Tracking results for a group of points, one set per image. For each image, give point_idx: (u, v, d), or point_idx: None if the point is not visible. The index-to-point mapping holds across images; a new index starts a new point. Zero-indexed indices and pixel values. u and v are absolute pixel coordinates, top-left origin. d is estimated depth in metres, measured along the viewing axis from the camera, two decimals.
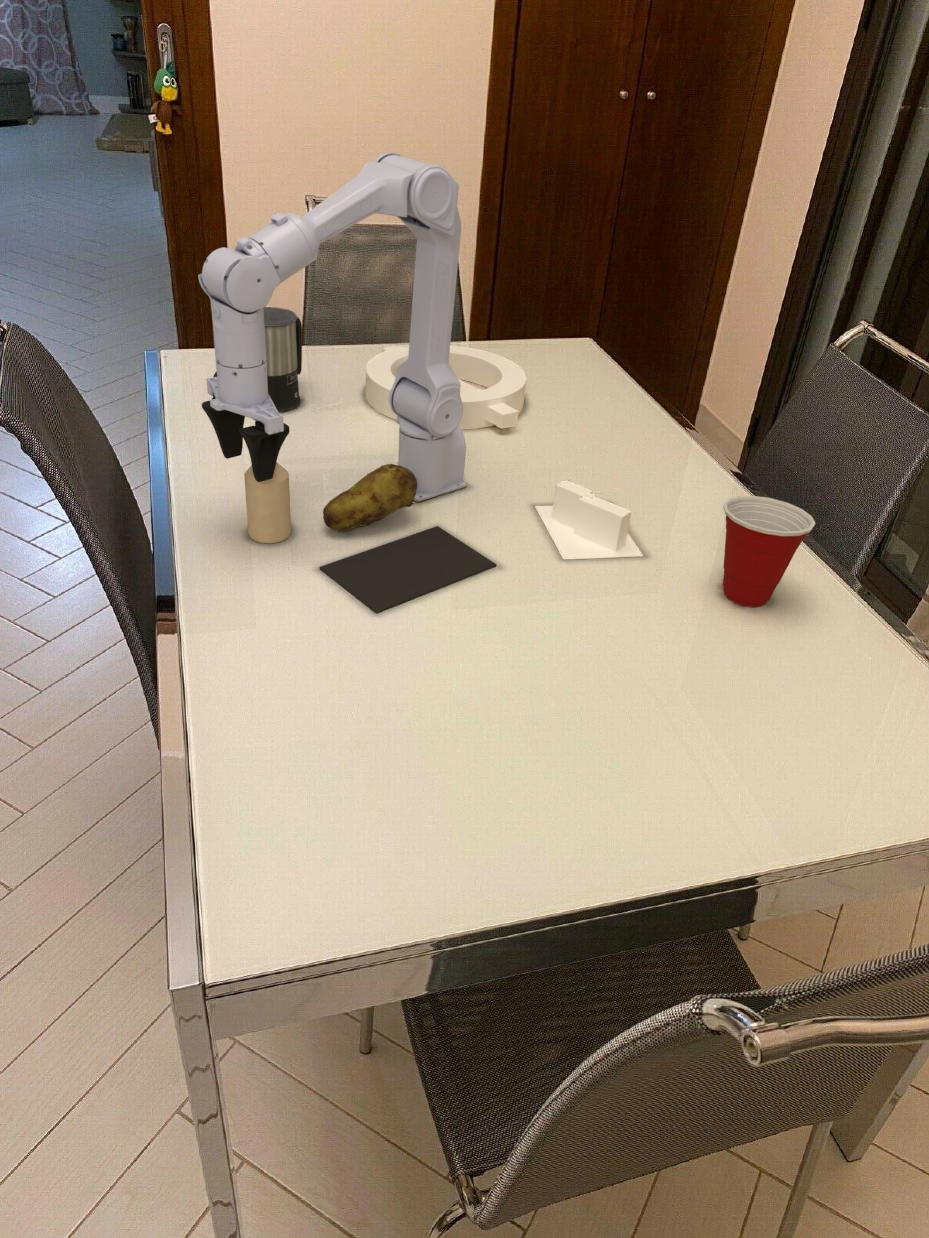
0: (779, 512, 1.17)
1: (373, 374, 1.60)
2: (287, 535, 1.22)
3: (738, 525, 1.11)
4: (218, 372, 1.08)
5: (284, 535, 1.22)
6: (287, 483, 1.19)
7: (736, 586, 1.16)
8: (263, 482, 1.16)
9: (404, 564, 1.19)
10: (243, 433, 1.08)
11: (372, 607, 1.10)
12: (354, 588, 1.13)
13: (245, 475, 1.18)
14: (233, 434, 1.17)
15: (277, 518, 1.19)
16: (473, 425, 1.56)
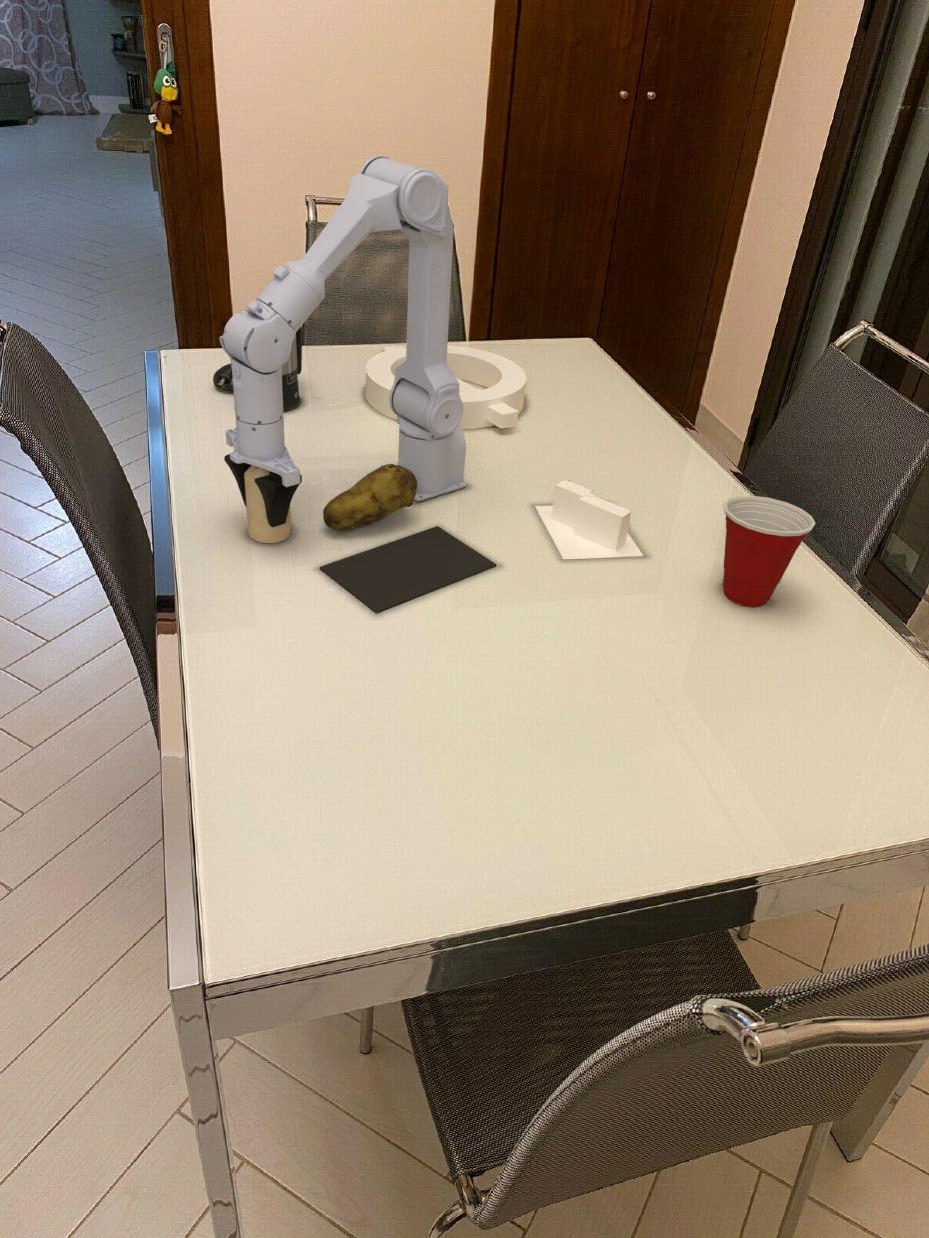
0: (779, 512, 1.17)
1: (374, 374, 1.60)
2: (287, 535, 1.22)
3: (738, 525, 1.11)
4: (238, 427, 1.13)
5: (284, 535, 1.22)
6: None
7: (736, 586, 1.16)
8: None
9: (404, 564, 1.19)
10: (258, 483, 1.14)
11: (372, 607, 1.10)
12: (354, 588, 1.13)
13: (245, 475, 1.18)
14: None
15: None
16: (473, 425, 1.56)
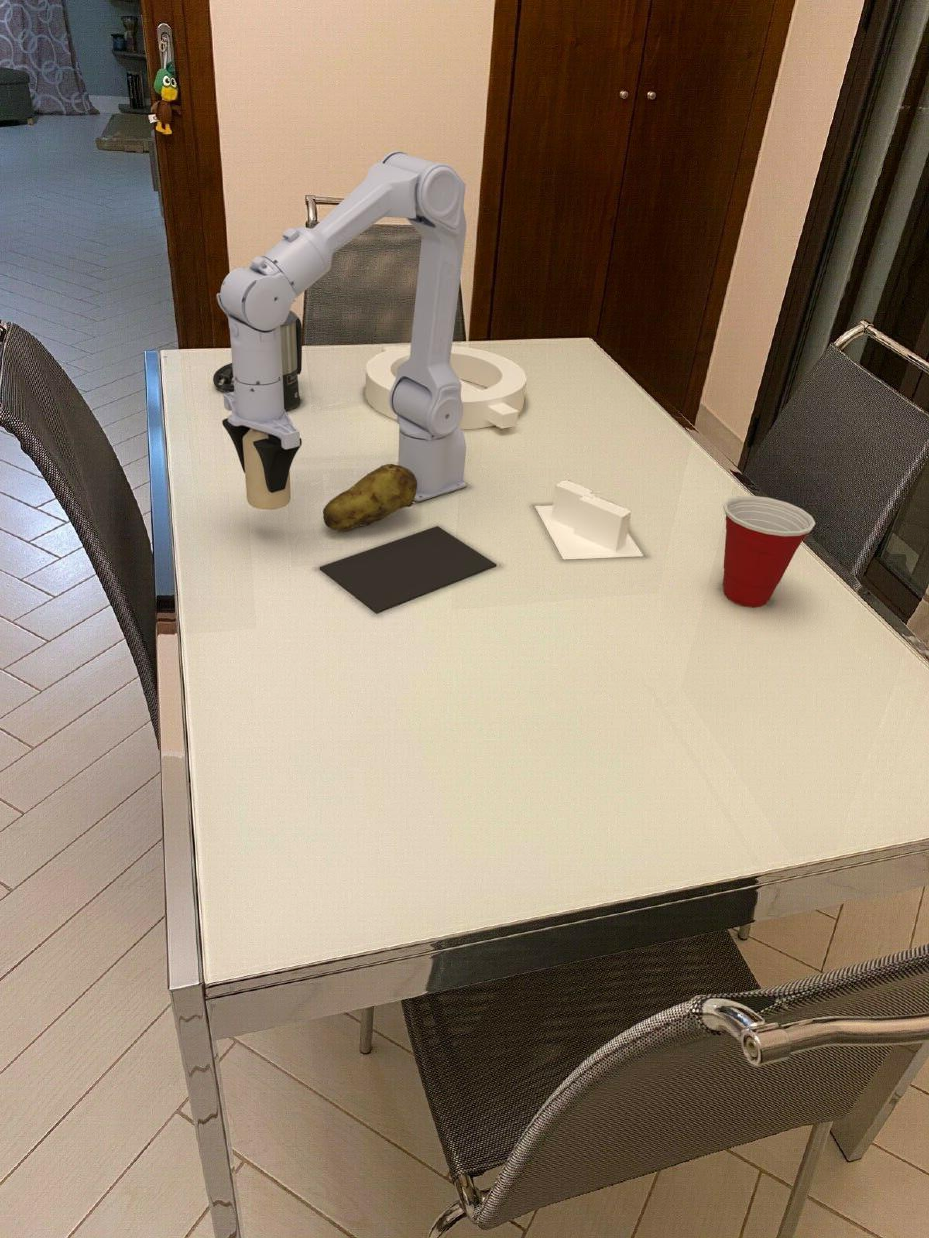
0: (779, 512, 1.17)
1: (373, 374, 1.60)
2: (287, 502, 1.19)
3: (738, 525, 1.11)
4: (236, 388, 1.10)
5: (284, 502, 1.19)
6: None
7: (736, 586, 1.16)
8: None
9: (404, 564, 1.19)
10: (257, 446, 1.11)
11: (372, 607, 1.10)
12: (354, 588, 1.13)
13: (243, 439, 1.15)
14: None
15: None
16: (473, 425, 1.56)
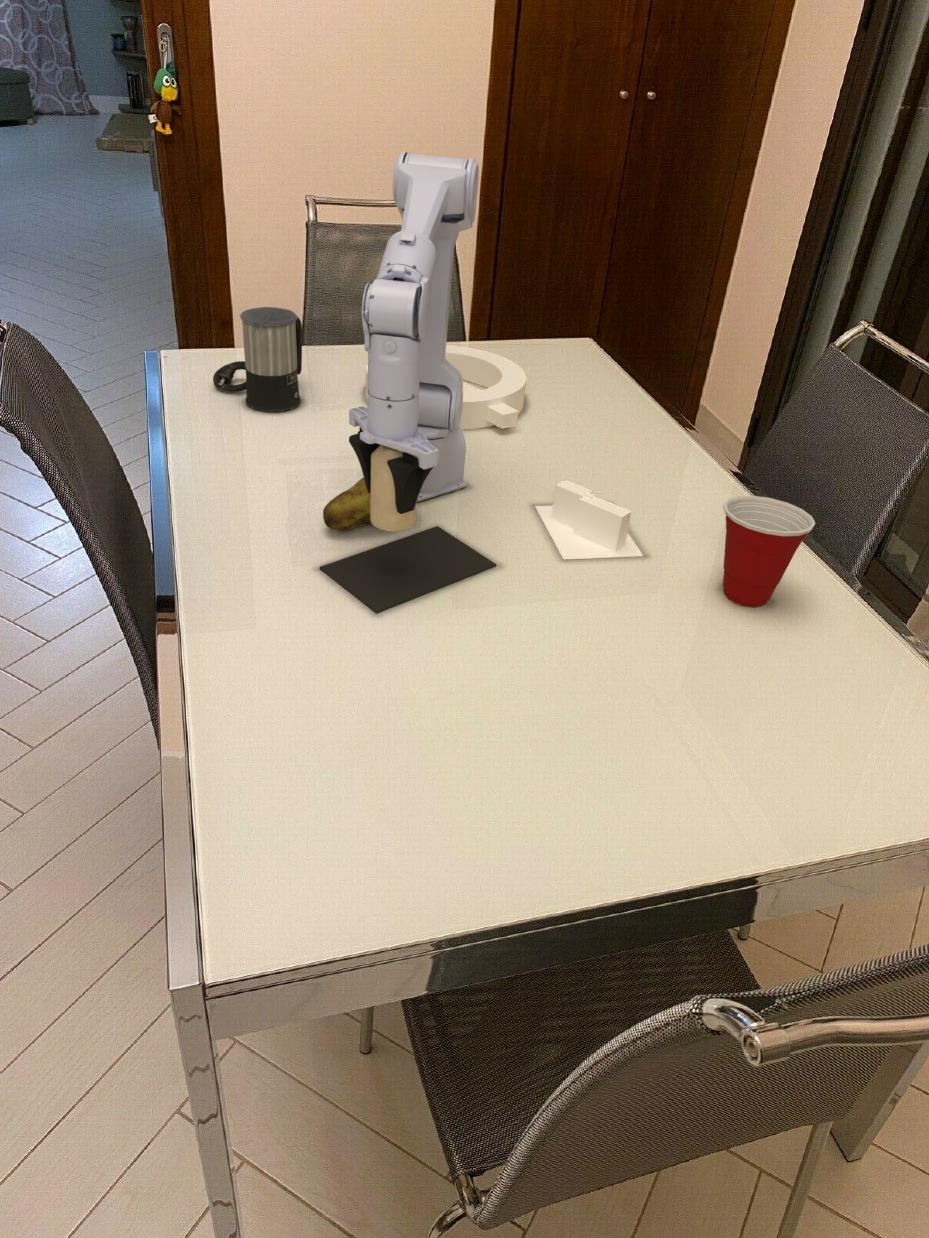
0: (779, 512, 1.17)
1: None
2: (413, 523, 1.13)
3: (738, 525, 1.11)
4: (371, 404, 1.04)
5: (410, 523, 1.12)
6: None
7: (736, 586, 1.16)
8: None
9: (404, 564, 1.19)
10: (392, 465, 1.04)
11: (372, 607, 1.10)
12: (354, 588, 1.13)
13: (372, 457, 1.08)
14: None
15: None
16: (473, 425, 1.56)
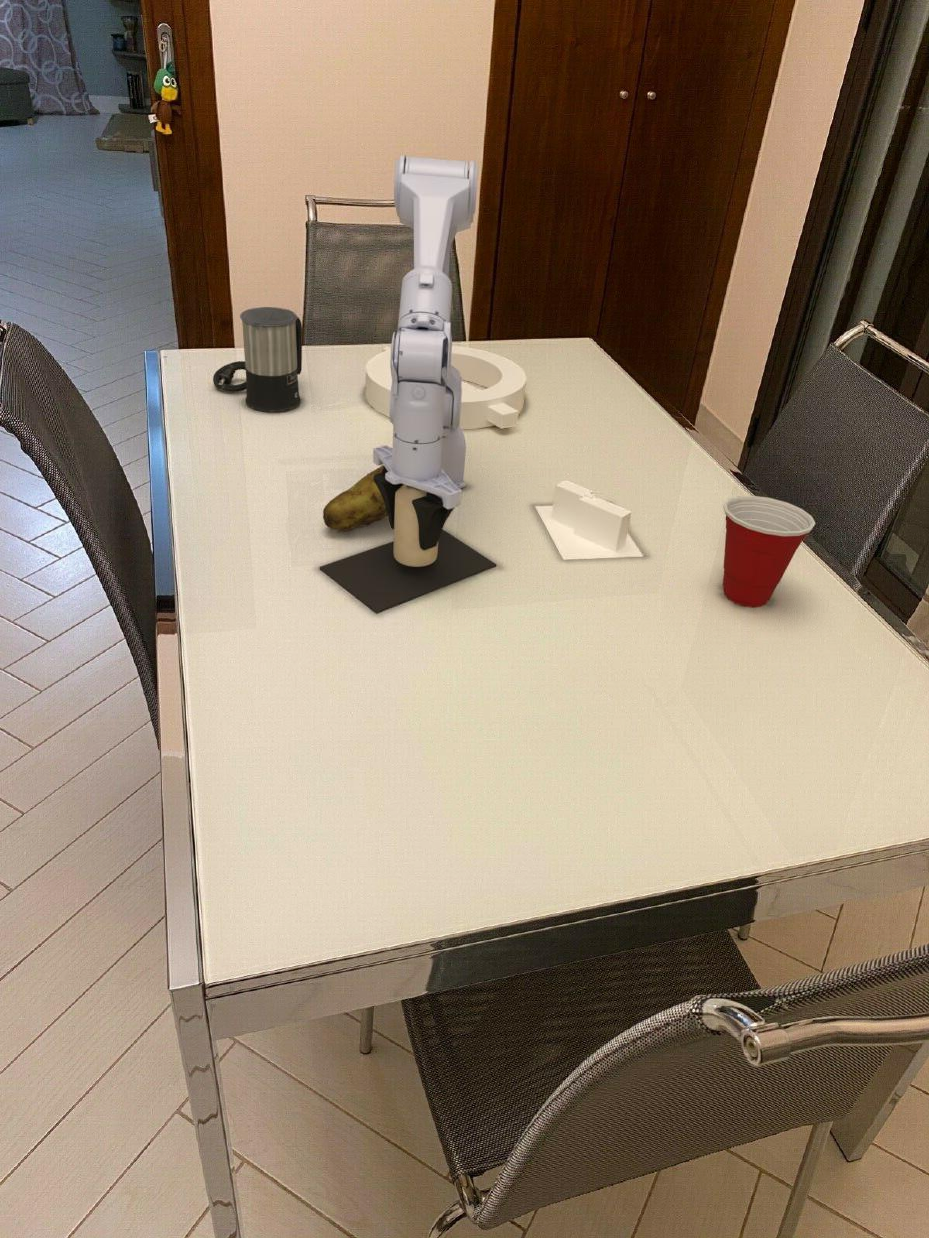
0: (779, 512, 1.17)
1: (373, 374, 1.60)
2: (435, 558, 1.17)
3: (738, 525, 1.11)
4: (396, 446, 1.07)
5: (432, 558, 1.16)
6: None
7: (736, 586, 1.16)
8: None
9: None
10: (416, 505, 1.08)
11: (372, 607, 1.10)
12: (354, 588, 1.13)
13: (397, 496, 1.12)
14: None
15: None
16: (473, 425, 1.56)
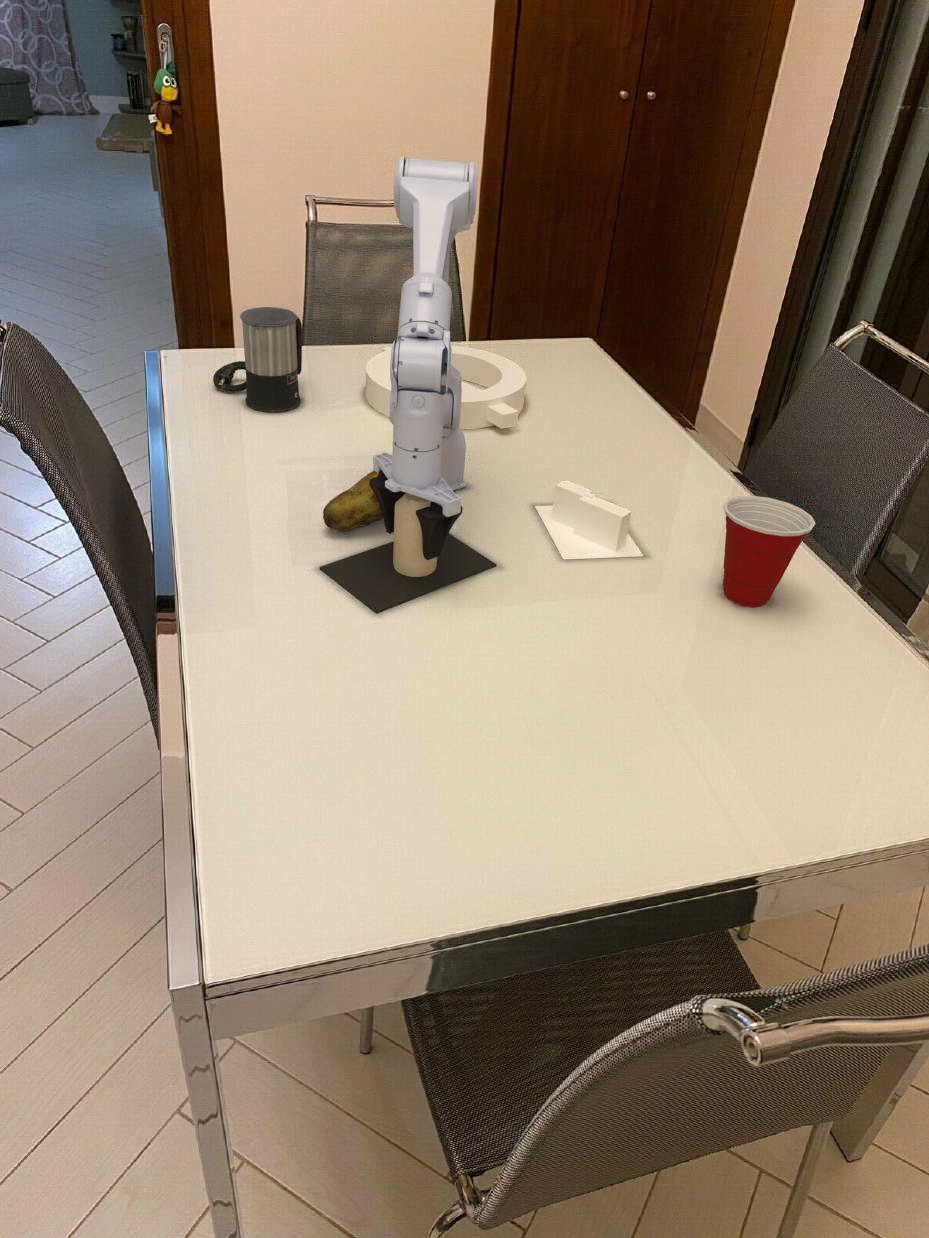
0: (779, 512, 1.17)
1: (373, 374, 1.60)
2: (434, 568, 1.17)
3: (738, 525, 1.11)
4: (396, 454, 1.08)
5: (432, 568, 1.17)
6: None
7: (736, 586, 1.16)
8: None
9: None
10: (420, 515, 1.08)
11: (372, 607, 1.10)
12: (354, 588, 1.13)
13: (396, 507, 1.13)
14: None
15: None
16: (473, 425, 1.56)
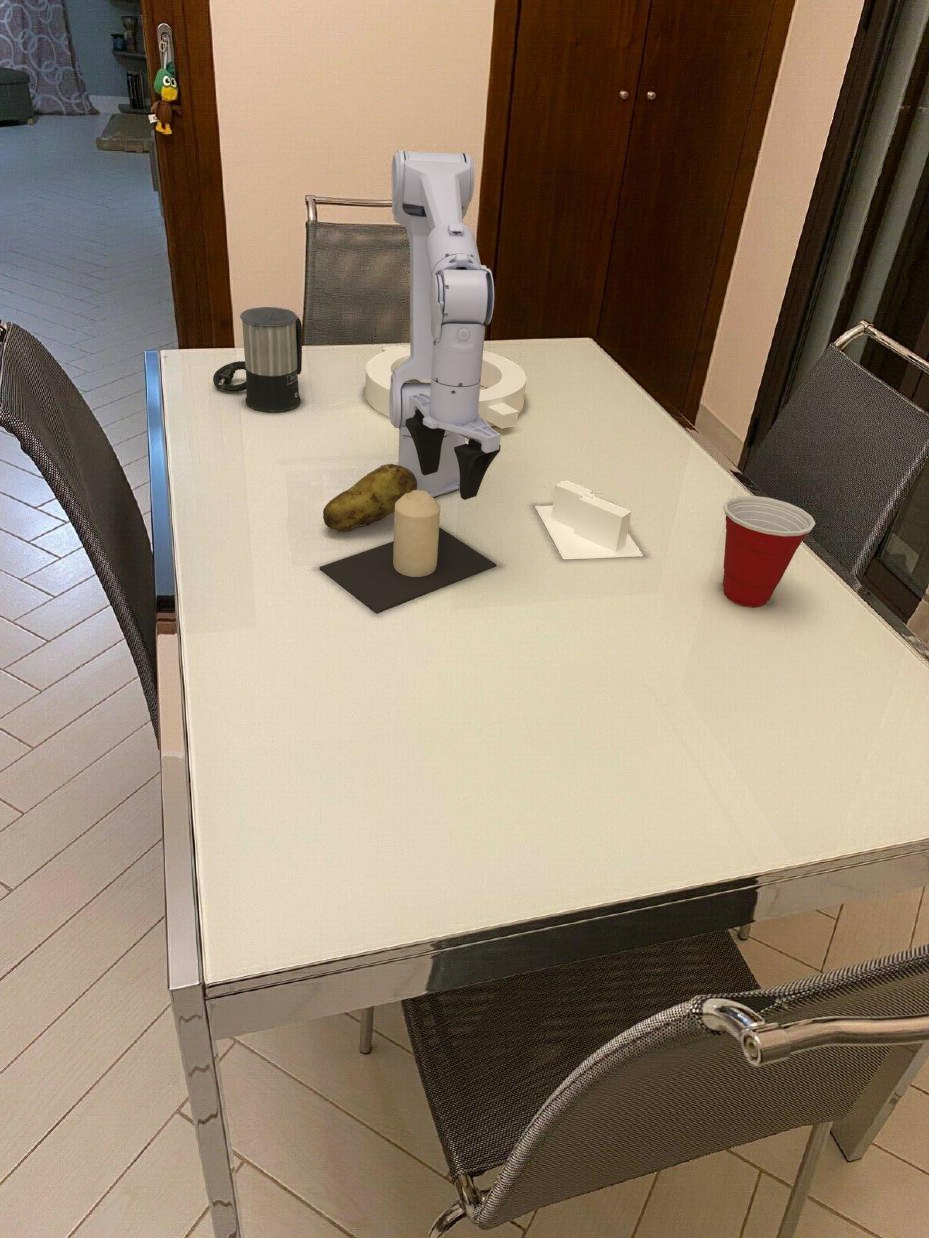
0: (779, 512, 1.17)
1: (374, 374, 1.60)
2: (434, 568, 1.17)
3: (738, 525, 1.11)
4: (434, 390, 1.07)
5: (432, 568, 1.17)
6: (439, 515, 1.14)
7: (736, 586, 1.16)
8: (417, 514, 1.12)
9: None
10: (459, 451, 1.07)
11: (372, 607, 1.10)
12: (354, 588, 1.13)
13: (396, 507, 1.13)
14: (432, 451, 1.16)
15: (427, 551, 1.15)
16: None
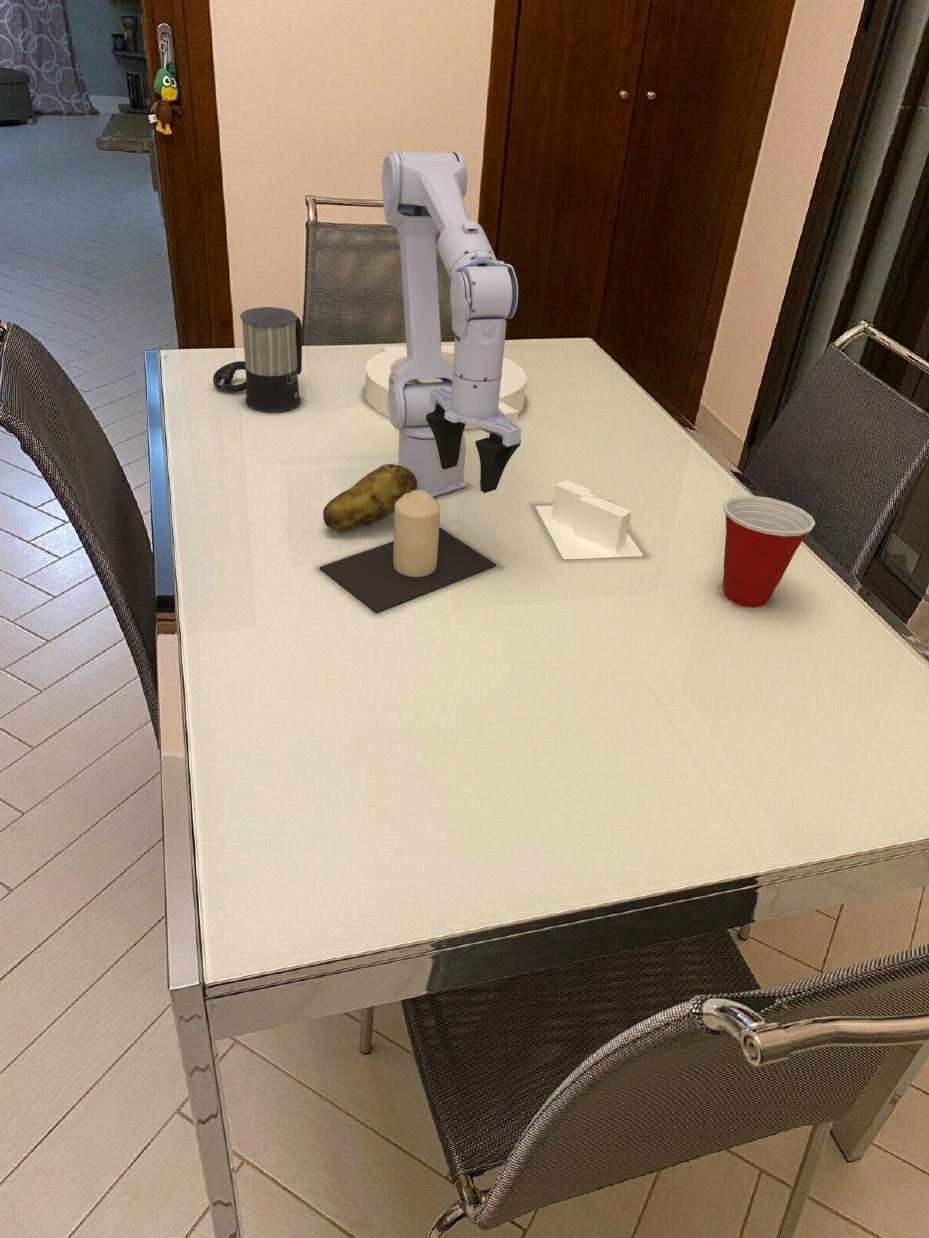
0: (779, 512, 1.17)
1: (373, 374, 1.60)
2: (434, 568, 1.17)
3: (738, 525, 1.11)
4: (456, 385, 1.09)
5: (432, 568, 1.17)
6: (439, 515, 1.14)
7: (736, 586, 1.16)
8: (417, 514, 1.12)
9: None
10: (480, 445, 1.09)
11: (372, 607, 1.10)
12: (354, 588, 1.13)
13: (396, 507, 1.13)
14: (452, 445, 1.18)
15: (427, 551, 1.15)
16: None
